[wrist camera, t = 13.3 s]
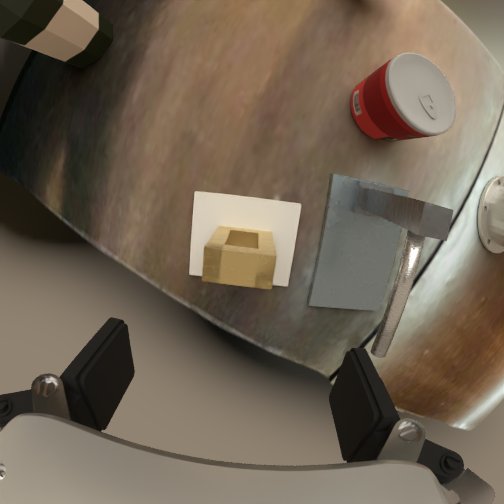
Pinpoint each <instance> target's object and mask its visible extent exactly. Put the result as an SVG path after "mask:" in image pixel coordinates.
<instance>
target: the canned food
mask: <svg viewBox="0 0 504 504" xmlns="http://www.w3.org/2000/svg"><path fill="white" fill-rule="evenodd" d="M351 111H352V115H353V118H354V120H355V122H356V123H357V125H358V126H359V128H360V129H361V130H362V131H363V132H364V133H365V134H367V135H368V136H370V137H372V138H373V139H376V140H378V141H383V142H391V141H398V140H405V139H413V138H422V137H430V136H436V135H440V134H443V133H445V132H446V131H448V130H449V129H450V128H451V126H452V125H453V123H454V121H455V116H456V100H455V96H454V92H453V90H452V87H451V85H450V83H449V81H448V79H447V78H446V76H445V75H444V73H443V72H442V71H441V70H440V68H439V67H438V66H437V65H436V64H434V63H433V62H432V61H431V60H429V59H428V58H426V57H424V56H422V55H420V54H417V53H411V52H408V53H402V54H400V55H397V56H395V57H394V58H392V59H391V60H389V61H388V62H387V63H385V64H384V65H383V66H381V67H380V68H379V69H377V70H376V71H375V72H374V73H372V74H371V75H370V76H368V77H367V78H366V79H365V80H363V81H362V82H361V83H360V84H358V85H357V86H356V88H355V89H354V91H353V93H352V97H351Z"/></svg>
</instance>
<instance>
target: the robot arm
mask: <svg viewBox="0 0 504 504" xmlns="http://www.w3.org/2000/svg"><path fill="white" fill-rule="evenodd" d="M478 230H479V235H480V239H481V241H482V243H483V245H484V247H485V248H486V249H487V250H489V251H491V252H493V253H496V254H497V253H502V252H504V176H496V177H494V178H492V179H491V180H490V181H489V182H488V184H487V185H486V187H485V189H484V191H483V193H482V196H481V199H480V204H479V209H478ZM133 377H134V364H133V359H132V353H131V347H130V340H129V333H128V326H127V324H125V323H124V321H123V320H120V319H116V318H112V317H111V318H109V319H108V321H107V322H106V323H105V324H104V325H103V326H102V327H101V328H100V330H99V331H98V332H97V333H96V334H95V335H94V336H93V338H92V339H91V340H90V341H89V342H88V343H87V345H86V346H85V347H84V348H83V349H82V350H81V352H80V353H79V354H78V355H77V356H76V357H75V359H74V360H73V361H72V362H71V364H70V365H69V366H68V367H67V369H66V370H65V371H64V372H63V373H62V375H61V376H60V377H58V376H56V375H54V374H43V375H40V376H38V377H37V378H36V379H35V380H34V381H33V383H32V387H31V389H30V390H25V391H20V392H15V393H9V394H3V395H0V504H492V502H493V500H494V498H495V492H494V489H493V488H492V487H491V486H490V485H489V484H488V483H486V482H485V481H484V480H483V479H481V478H480V477H479V476H477V475H476V474H475V473H474V472H472V471H471V470H470V469H469V468H467V469H466V470H465V469H464V464H463V460H462V458H461V456H460V455H459V454H457V453H456V452H454V451H451V450H449V449H447V448H444V447H442V446H440V445H437V444H435V443H433V442H431V441H429V440H427V439H425V437H426V432H425V429H424V427H423V426H422V425H421V424H420V423H419V422H417V421H416V420H413V419H402V420H400V418H399V415H398V413H397V411H396V409H395V407H394V405H393V402H392V400H391V398H390V396H389V394H388V392H387V390H386V388H385V386H384V383H383V381H382V380H381V378H380V377H379V375H378V373H377V371H376V369H375V367H374V365H373V363H372V361H371V359H370V357H369V355H368V353H367V351H366V349H365V348H352V349H351V350H350V351H347V352H346V355H345V357H344V360H343V363H342V365H341V368H340V370H339V373H338V376H337V378H336V380H335V383H334V385H333V388H332V390H331V393H330V396H329V402H330V406H331V410H332V414H333V419H334V423H335V427H336V431H337V436H338V440H339V444H340V449H341V453H342V458H343V460H344V461H345V460H347V463H342V464H328V465H306V466H305V465H304V466H276V465H255V464H242V463H232V462H224V461H216V460H209V459H202V458H197V457H191V456H186V455H181V454H176V453H171V452H167V451H163V450H159V449H155V448H151V447H147V446H143V445H140V444H137V443H133V442H130V441H127V440H124V439H121V438H118V437H115V436H112V435H109V434H106V433H103V432H101V431H102V430H105V429H106V428H107V426H108V424H109V422H110V420H111V418H112V416H113V414H114V412H115V410H116V409H117V407H118V405H119V403H120V401H121V399H122V397H123V395H124V394H125V392H126V390H127V388H128V386H129V384H130V382H131V381H132V379H133Z"/></svg>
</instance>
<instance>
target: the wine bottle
mask: <svg viewBox="0 0 504 504" xmlns="http://www.w3.org/2000/svg"><path fill="white" fill-rule="evenodd" d="M0 38H1V39H5V40H8V41H10V42H13V43H17V44H19V45H22V46H25V47H28V48H30V49H33V50H36V51H38V52H41V53H43V54H46V55H49V56H51V57H53V58H56V59H58V60H61V61H63V62H65V63H68V64H70V65H73V66H75V67H78V68H81V69H82V68H84V67H86V66H88V65H90V64H91V63H93V62H95V61H97V60H99V59H100V58H101V57H102V55H103V54H104V52H105V51H106V49H107V48H108V46H109V45H110V44H111V42H112V41H113V31H112V24H111V23H110V22H109V21H107V20H106V19H105V18H104V17H102V16H101V15H100V14H99V13H98V12H96V11H95V10H94V9H93V8H91V7H90V6H89V5H88V4H86V3H85V2H84V1H82V0H0Z"/></svg>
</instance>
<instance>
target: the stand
mask: <svg viewBox="0 0 504 504" xmlns="http://www.w3.org/2000/svg"><path fill="white" fill-rule="evenodd" d="M408 192H409V191H406V190H402V189H399V188H395V187H391V186H387V185H382V184H378V183H374V182H370V181H365V180H361V179H356V178H351V177H346V176H341V175H336V174H331V177H330V183H329V190H328V197H327V203H326V209H325V215H324V221H323V227H322V232H321V238H320V243H319V248H318V253H317V259H316V264H315V268H314V273H313V278H312V283H311V287H310V292H309V296H308V304H309V306H319V307H331V308H344V309H358V310H375V311H379V310H380V307H381V303H382V300H383V297H384V294H385V291H386V287H387V284H388V281H389V277H390V274H391V270H392V266H393V263H394V259H395V255H396V251H397V247H398V242H399V238H400V234H401V229H402V227H403V228H405V229H407V230H408V233H407V237H406V241H405V246H404V250H403V254H402V258H401V261H400V265H399V269H398V272H397V276H396V279H395V283H394V286H393V289H392V293H391V296H390V299H389V302H388V305H387V308H386V311H385V314H384V317H383V319H382V322H381V325H380V328H379V330H378V333H377V336H376V338H375V341H374V343H373V346H372V348H371V353H372V354H373V355H374V356H376V357H380V358H382V357H385V356H386V353H387V351H388V349H389V346H390V344H391V342H392V339H393V337H394V334H395V332H396V329H397V327H398V324H399V322H400V319H401V316H402V313H403V311H404V308H405V305H406V302H407V299H408V296H409V293H410V290H411V287H412V284H413V281H414V277H415V274H416V270H417V267H418V263H419V260H420V256H421V252H422V248H423V244H424V240H425V236H426V237H431V238H436V239H441V240H445V241H447V237H448V233H449V228H450V224H451V219H452V214H453V210H451V209H448V208H444V207H441V206H437V205H434V204H430V203H427V202H423V201H420V200H416V199H412V198H408Z"/></svg>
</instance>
